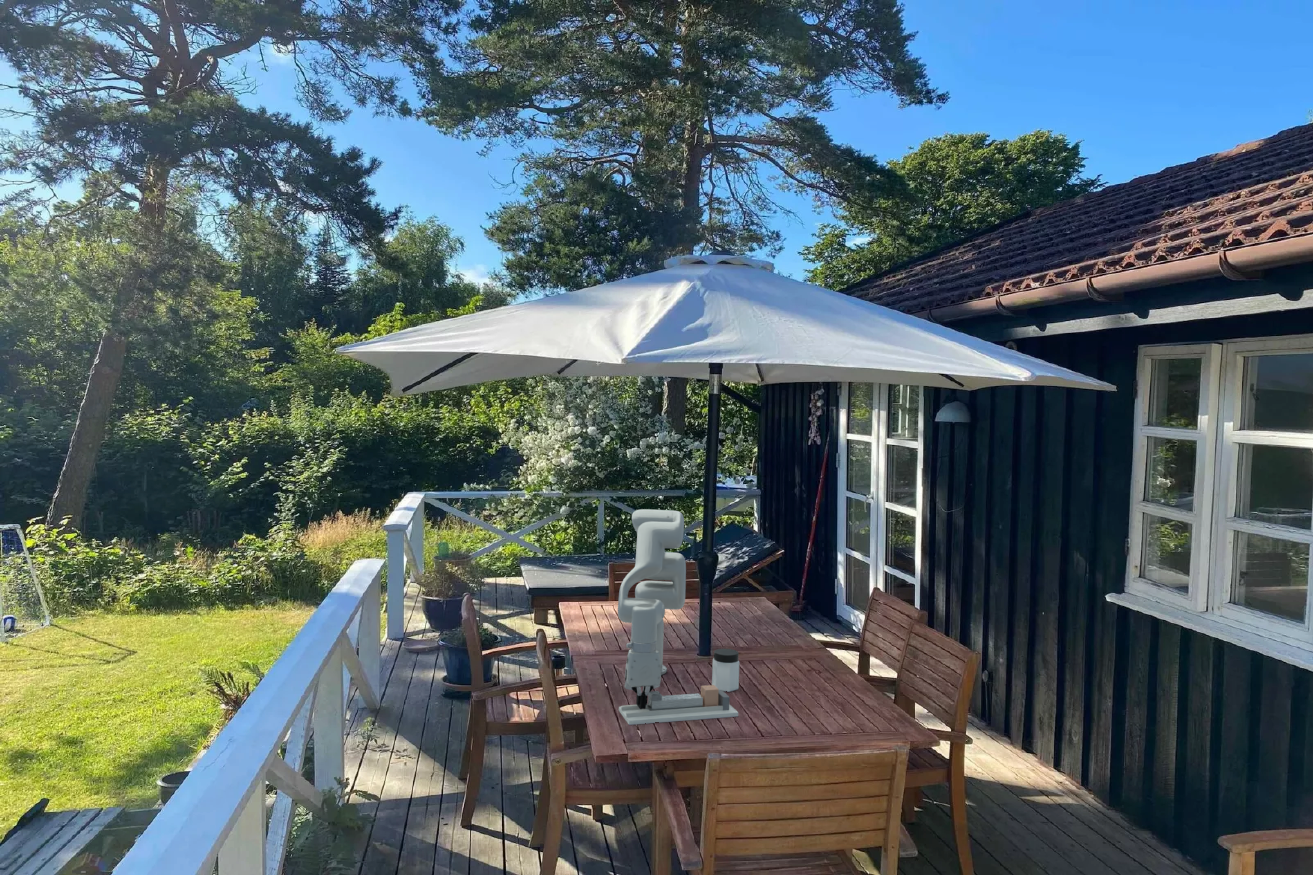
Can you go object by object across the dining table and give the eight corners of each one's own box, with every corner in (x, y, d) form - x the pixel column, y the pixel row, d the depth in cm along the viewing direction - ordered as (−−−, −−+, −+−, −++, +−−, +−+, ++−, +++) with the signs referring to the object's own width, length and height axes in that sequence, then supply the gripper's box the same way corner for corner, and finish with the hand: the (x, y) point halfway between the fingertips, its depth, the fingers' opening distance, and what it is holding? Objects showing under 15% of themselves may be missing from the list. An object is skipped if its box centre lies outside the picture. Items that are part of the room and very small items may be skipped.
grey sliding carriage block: (647, 708, 258) (648, 691, 258) (698, 705, 263) (698, 688, 263) (651, 713, 255) (652, 696, 254) (702, 709, 259) (703, 692, 259)
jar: (725, 682, 291) (726, 646, 291) (743, 688, 285) (744, 652, 285) (706, 687, 285) (708, 651, 285) (725, 693, 279) (726, 657, 279)
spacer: (700, 705, 264) (701, 685, 264) (713, 704, 265) (714, 685, 265) (704, 709, 260) (705, 690, 260) (717, 709, 261) (718, 689, 261)
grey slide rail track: (618, 710, 260) (619, 693, 260) (723, 703, 270) (724, 686, 270) (629, 724, 249) (629, 707, 248) (738, 716, 258) (738, 699, 258)
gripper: (622, 651, 250) (620, 713, 250) (671, 648, 254) (669, 710, 254) (616, 644, 257) (614, 705, 257) (663, 641, 261) (661, 701, 262)
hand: (641, 707), depth 256 cm, fingers closed
